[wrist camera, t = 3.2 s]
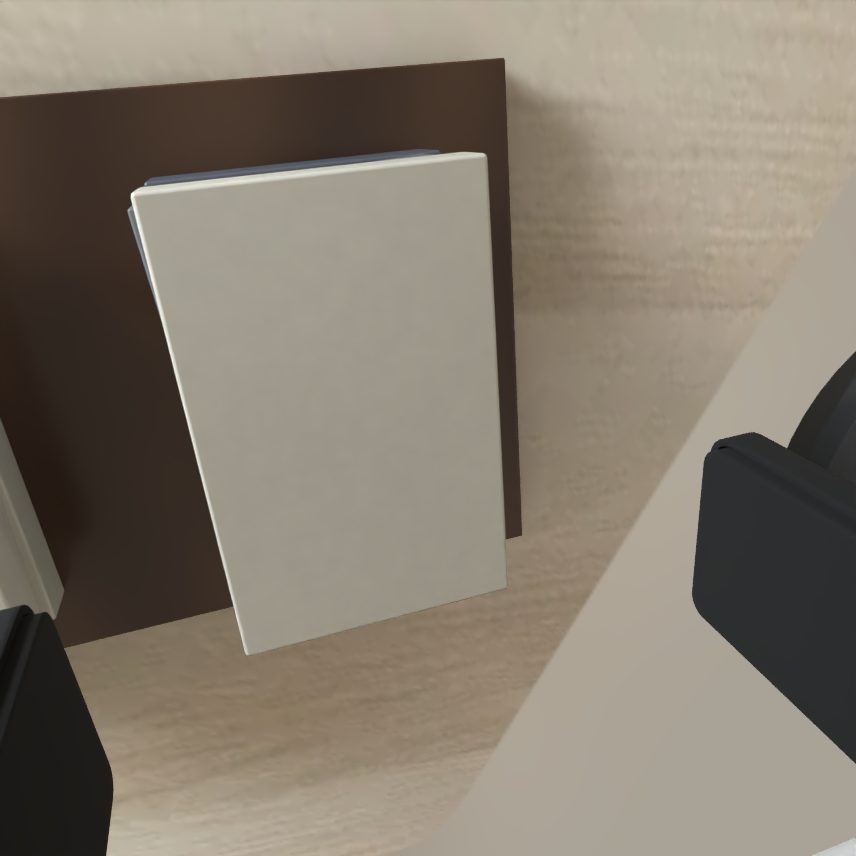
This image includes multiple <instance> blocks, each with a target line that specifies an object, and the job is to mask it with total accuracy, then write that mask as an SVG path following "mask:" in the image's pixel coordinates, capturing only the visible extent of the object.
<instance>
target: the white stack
mask: <svg viewBox="0 0 856 856" xmlns="http://www.w3.org/2000/svg"><path fill="white" fill-rule="evenodd" d="M63 594H64V588H63V585H62V582H61V580H60V577H59V574H58V572H57V569H56V566H55V564H54V561H53V558H52V556H51V553H50V550H49V548H48V545H47V542H46V540H45V537H44V534H43V532H42V529H41V526H40V524H39V521H38V518H37V515H36V513H35V510H34V507H33V505H32V502H31V499H30V497H29V494H28V491H27V489H26V486H25V483H24V481H23V478H22V475H21V473H20V470H19V467H18V465H17V462H16V459H15V456H14V454H13V451H12V448H11V446H10V443H9V440H8V438H7V435H6V432H5V430H4V427H3V424H2V422H1V419H0V610H3V609H8V608H12V607H16V606H20V605H24V604H25V605H27V606H29V607H30V608H31V609H32V610H33V612H34V614H38V613H42V612H47V613H49V615H50V616H51V617H52V619H53V620H54V619H55V618H56V616H57V613H58V610H59V606H60V603H61V600H62V597H63Z"/></svg>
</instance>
